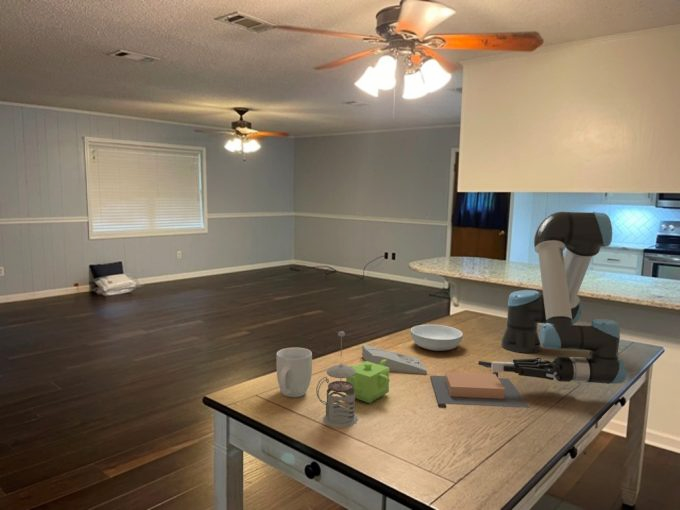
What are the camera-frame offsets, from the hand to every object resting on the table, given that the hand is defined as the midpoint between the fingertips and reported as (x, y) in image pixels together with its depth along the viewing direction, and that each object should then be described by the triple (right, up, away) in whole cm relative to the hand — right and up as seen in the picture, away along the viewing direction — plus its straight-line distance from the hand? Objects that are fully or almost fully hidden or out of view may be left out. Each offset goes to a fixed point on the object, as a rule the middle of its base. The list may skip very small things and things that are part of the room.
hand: (492, 366), depth 149 cm
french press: (-48, -11, -17) cm, 52 cm away
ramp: (-28, -6, +26) cm, 39 cm away
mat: (-5, -9, +2) cm, 10 cm away
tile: (+3, -6, +1) cm, 7 cm away
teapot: (-39, -9, -2) cm, 40 cm away
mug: (-62, -9, -1) cm, 63 cm away
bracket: (+8, -8, +20) cm, 22 cm away
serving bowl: (-8, -3, +47) cm, 47 cm away
